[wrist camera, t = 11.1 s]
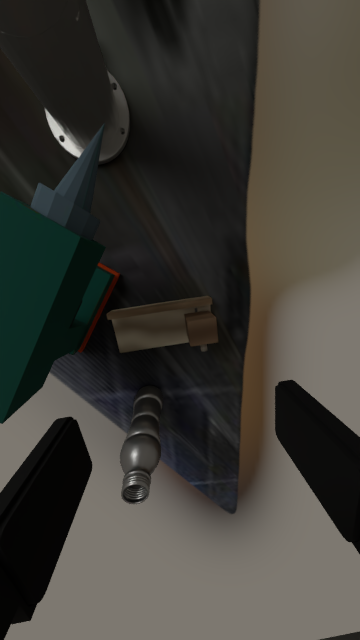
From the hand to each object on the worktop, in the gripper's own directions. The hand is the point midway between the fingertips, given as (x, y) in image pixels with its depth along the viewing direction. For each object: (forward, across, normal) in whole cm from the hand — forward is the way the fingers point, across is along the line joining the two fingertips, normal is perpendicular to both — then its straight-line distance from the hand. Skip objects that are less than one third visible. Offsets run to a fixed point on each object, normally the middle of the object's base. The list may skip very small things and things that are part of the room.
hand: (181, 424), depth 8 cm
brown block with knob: (+29, -5, +5) cm, 29 cm away
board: (+30, +2, +4) cm, 31 cm away
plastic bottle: (+31, +8, +20) cm, 37 cm away
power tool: (+31, +13, -8) cm, 34 cm away
